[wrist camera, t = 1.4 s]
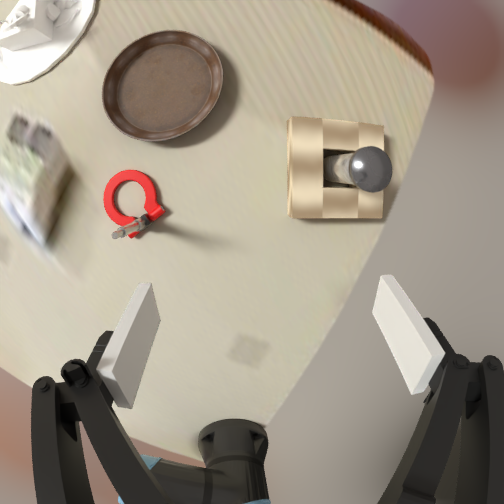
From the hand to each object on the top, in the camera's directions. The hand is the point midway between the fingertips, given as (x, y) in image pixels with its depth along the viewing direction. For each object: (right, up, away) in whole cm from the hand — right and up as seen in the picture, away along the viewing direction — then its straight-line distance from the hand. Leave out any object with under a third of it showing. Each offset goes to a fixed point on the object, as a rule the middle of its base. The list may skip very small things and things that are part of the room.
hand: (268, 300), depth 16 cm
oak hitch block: (+11, +15, +26) cm, 32 cm away
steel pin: (+11, +15, +26) cm, 32 cm away
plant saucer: (-14, +27, +21) cm, 37 cm away
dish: (-40, +44, +14) cm, 61 cm away
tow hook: (-19, +10, +25) cm, 33 cm away
